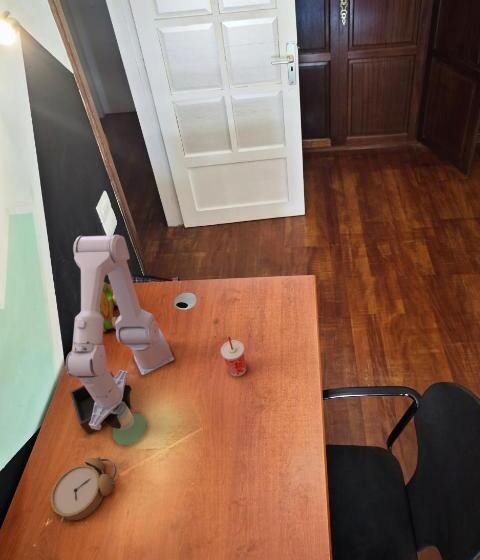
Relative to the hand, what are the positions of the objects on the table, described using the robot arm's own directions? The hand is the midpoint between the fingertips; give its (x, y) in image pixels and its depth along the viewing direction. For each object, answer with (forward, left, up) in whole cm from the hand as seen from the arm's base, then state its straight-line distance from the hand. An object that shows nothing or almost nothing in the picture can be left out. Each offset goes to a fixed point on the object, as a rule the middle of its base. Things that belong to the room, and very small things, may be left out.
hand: (121, 417), depth 117 cm
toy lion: (-7, -40, -6) cm, 41 cm away
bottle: (0, 0, -2) cm, 2 cm away
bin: (+4, -10, -6) cm, 13 cm away
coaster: (0, 0, -6) cm, 6 cm away
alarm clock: (+13, +9, -6) cm, 17 cm away
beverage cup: (-31, -1, -6) cm, 32 cm away
